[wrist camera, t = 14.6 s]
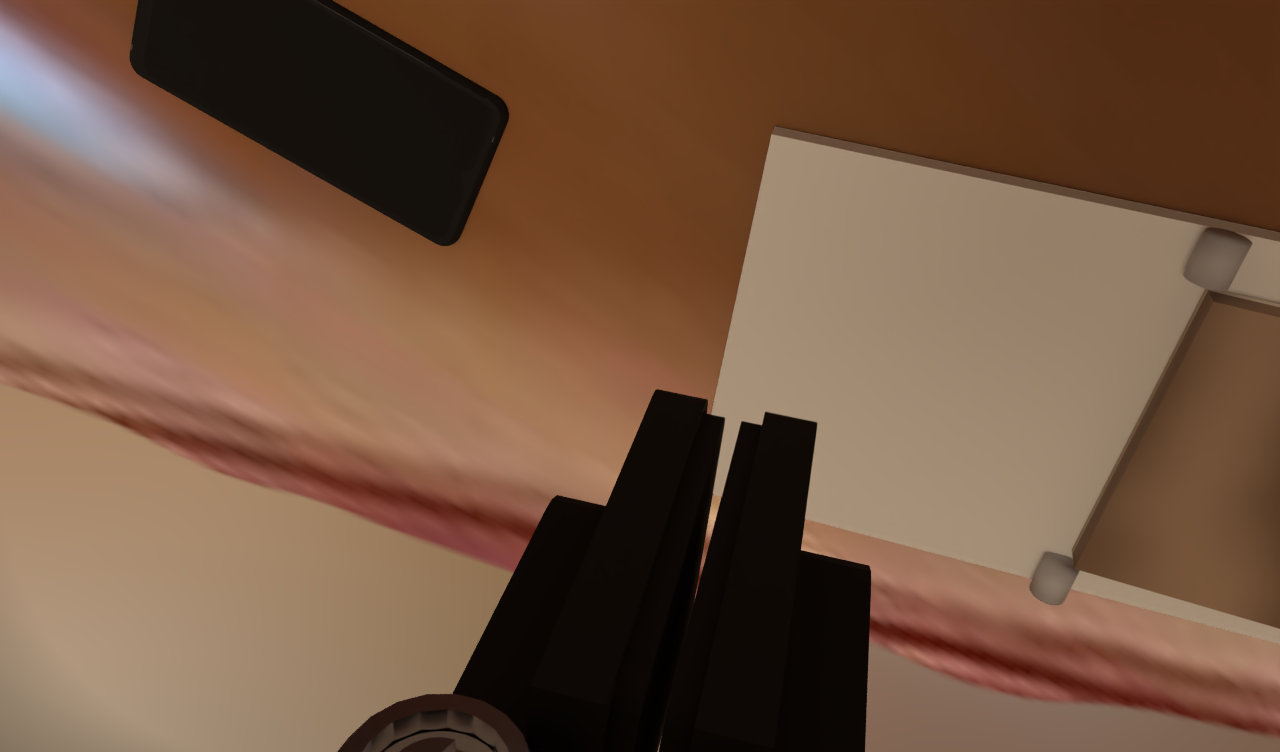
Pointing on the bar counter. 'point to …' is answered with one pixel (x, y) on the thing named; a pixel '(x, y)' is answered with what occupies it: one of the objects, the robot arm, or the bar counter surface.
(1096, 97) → the bar counter surface
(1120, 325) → the plaque base
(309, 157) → the smartphone
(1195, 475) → the flip plaque
